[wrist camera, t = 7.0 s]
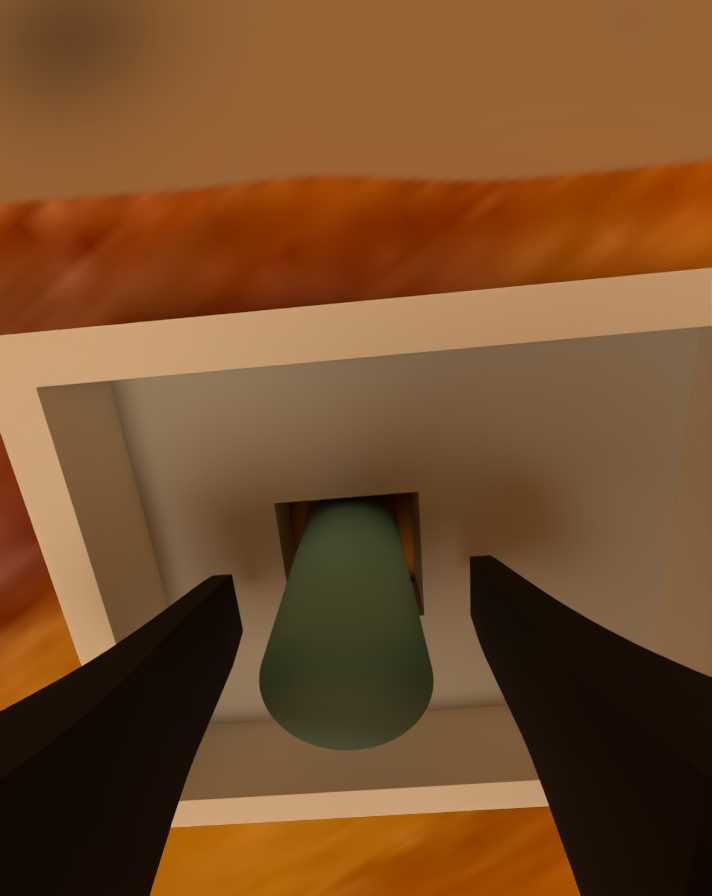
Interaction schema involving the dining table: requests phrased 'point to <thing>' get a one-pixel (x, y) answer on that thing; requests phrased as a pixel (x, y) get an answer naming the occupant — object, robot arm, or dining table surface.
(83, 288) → the dining table surface
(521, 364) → the bore tray
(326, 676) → the peg
